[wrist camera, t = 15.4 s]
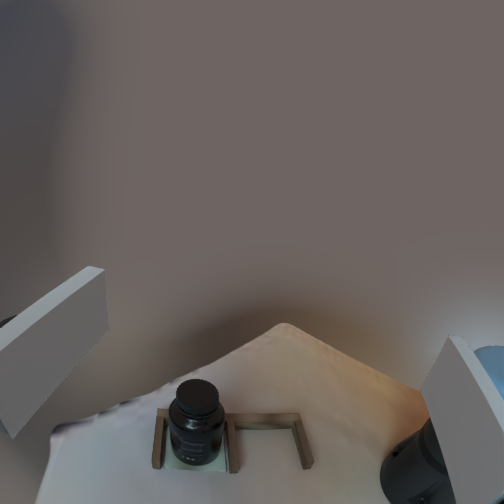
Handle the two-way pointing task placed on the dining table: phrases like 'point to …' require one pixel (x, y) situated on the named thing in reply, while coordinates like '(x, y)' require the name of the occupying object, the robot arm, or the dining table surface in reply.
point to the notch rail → (231, 440)
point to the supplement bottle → (196, 423)
